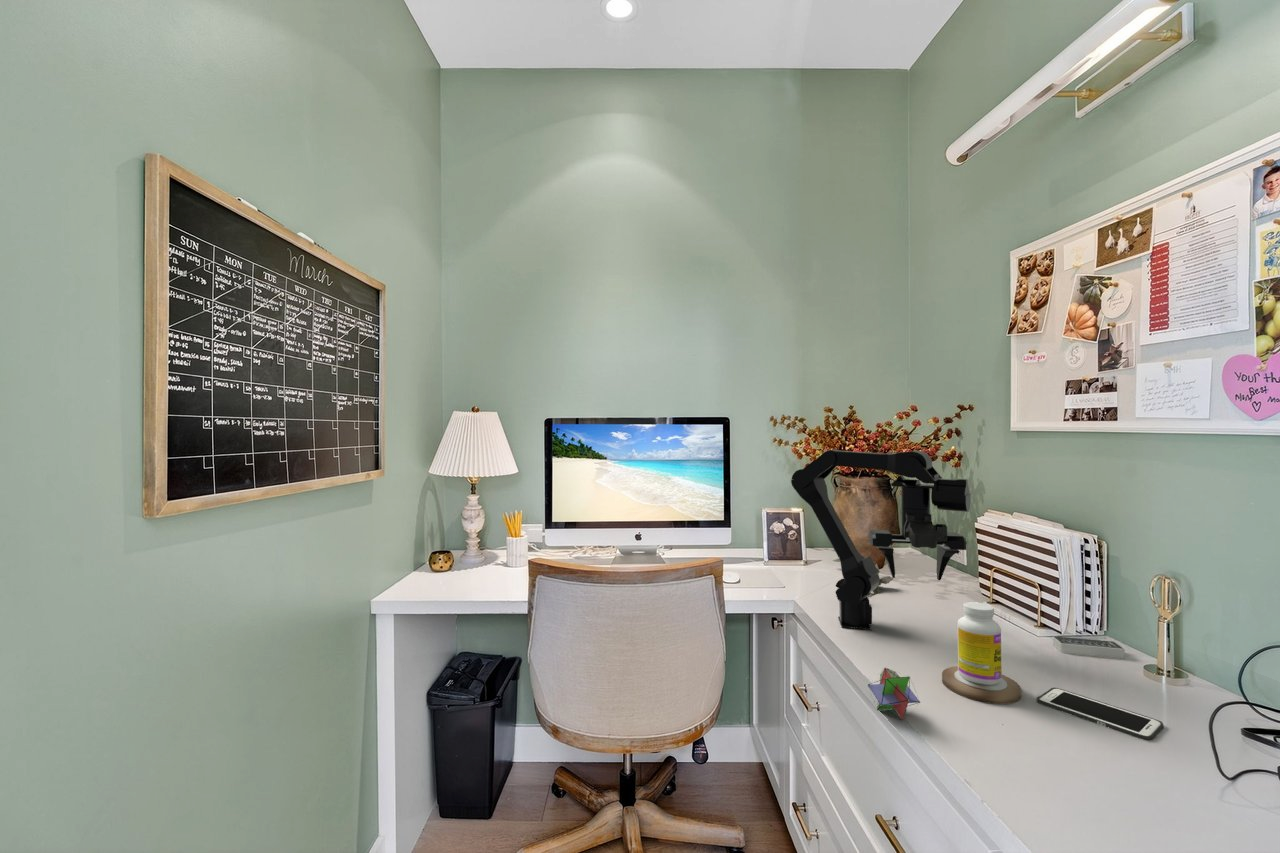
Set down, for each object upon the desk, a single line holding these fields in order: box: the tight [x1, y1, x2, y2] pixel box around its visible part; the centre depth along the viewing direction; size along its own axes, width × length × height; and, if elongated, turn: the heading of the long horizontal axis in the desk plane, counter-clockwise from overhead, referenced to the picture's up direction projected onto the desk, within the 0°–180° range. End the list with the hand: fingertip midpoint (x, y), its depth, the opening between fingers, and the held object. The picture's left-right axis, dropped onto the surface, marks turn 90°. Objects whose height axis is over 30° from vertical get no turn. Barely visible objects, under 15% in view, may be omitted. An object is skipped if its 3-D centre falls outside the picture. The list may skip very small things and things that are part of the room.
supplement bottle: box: [957, 601, 1003, 685], centre depth 99 cm, size 7×7×13 cm
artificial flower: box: [835, 563, 894, 600], centre depth 155 cm, size 9×22×10 cm, turn 128°
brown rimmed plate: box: [941, 665, 1022, 705], centre depth 99 cm, size 12×12×2 cm
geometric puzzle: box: [866, 667, 921, 722], centre depth 90 cm, size 7×7×8 cm
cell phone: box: [1036, 687, 1164, 742], centre depth 90 cm, size 8×15×1 cm, turn 35°
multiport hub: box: [1052, 635, 1126, 660], centre depth 115 cm, size 4×11×2 cm, turn 73°
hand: (915, 578), depth 123 cm, fingers open, 9 cm apart
